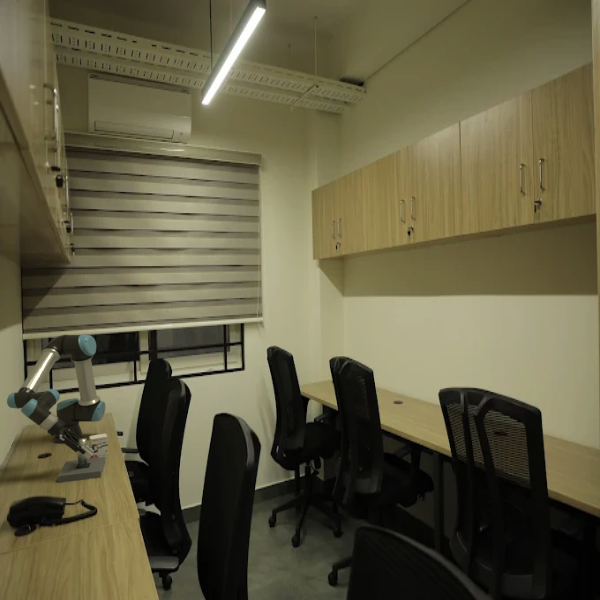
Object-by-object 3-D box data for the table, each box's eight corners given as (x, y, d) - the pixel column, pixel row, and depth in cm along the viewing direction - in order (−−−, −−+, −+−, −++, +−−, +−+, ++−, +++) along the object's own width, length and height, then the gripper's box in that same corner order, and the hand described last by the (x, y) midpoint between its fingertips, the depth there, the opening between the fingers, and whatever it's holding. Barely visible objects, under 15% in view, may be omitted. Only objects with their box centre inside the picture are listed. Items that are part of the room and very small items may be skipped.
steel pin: (78, 462, 214) (78, 438, 214) (87, 461, 216) (87, 437, 215) (77, 465, 211) (77, 440, 210) (86, 464, 212) (86, 440, 211)
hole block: (66, 467, 219) (66, 461, 219) (105, 462, 225) (105, 456, 224) (58, 482, 202) (58, 476, 202) (100, 477, 207) (100, 471, 207)
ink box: (90, 461, 227) (90, 438, 226) (89, 458, 231) (88, 436, 230) (108, 457, 231) (108, 435, 231) (106, 454, 235) (106, 433, 235)
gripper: (50, 425, 216) (88, 454, 222) (41, 436, 200) (82, 467, 205) (62, 413, 217) (99, 443, 223) (54, 424, 201) (94, 455, 207)
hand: (91, 455), depth 214 cm, fingers closed on steel pin, 4 cm apart
